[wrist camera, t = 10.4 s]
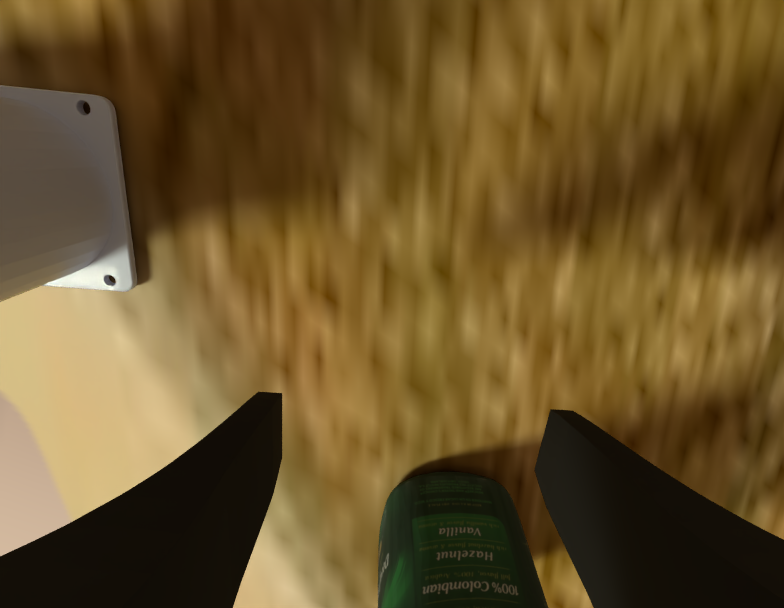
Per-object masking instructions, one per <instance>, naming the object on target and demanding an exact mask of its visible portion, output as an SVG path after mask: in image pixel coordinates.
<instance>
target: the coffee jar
mask: <svg viewBox="0 0 784 608" xmlns="http://www.w3.org/2000/svg"><path fill="white" fill-rule="evenodd" d="M378 608H548V605H547V603H546V599H545V596H544V593H543V590H542V587H541V584H540V581H539V578H538V575H537V571H536V568H535V565H534V562H533V559H532V556H531V553H530V550H529V546H528V543H527V540H526V537H525V534H524V531H523V528H522V525H521V522H520V519H519V517H518V514H517V511H516V508H515V506H514V503H513V500H512V498H511V496H510V494H509V493H508V492H507V490H506V489H505V488H504V487H503V486H502V485H500V484H499V483H497V482H496V481H494V480H492V479H489V478H486V477H482V476H478V475H474V474H470V473H460V472H433V473H429V474H423V475H419V476H415V477H412V478H410V479H408V480H406V481H404V482H402V483H400V484H399V485H398V486H397V487H396V488H394V490H393V491H392V492H391V494H390V495H389V497H388V499H387V502H386V505H385V509H384V512H383V516H382V521H381V526H380V534H379V557H378Z"/></svg>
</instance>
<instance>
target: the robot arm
mask: <svg viewBox="0 0 784 608" xmlns="http://www.w3.org/2000/svg"><path fill="white" fill-rule="evenodd" d="M85 102H87V103H88V104H89V106H90V108H91V109H90V113H89V114H88V115H87V114H86V113H85V112H84V109H83V104H84V103H85ZM109 275H111V276H113V277H114V278H115V280H116V283H113V282H112V281H110V279H109ZM136 285H137V274H136V266H135V258H134V250H133V243H132V235H131V227H130V219H129V212H128V204H127V196H126V188H125V180H124V173H123V165H122V157H121V149H120V142H119V134H118V126H117V118H116V111H115V108H114V105H113V104H112V102H111V101H110V100H108V99H107V98H106V97H102V96H98V95H92V94H82V93H72V92H62V91H53V90H43V89H33V88H24V87H14V86H4V85H0V302H1V301H4V300H6V299H9V298H11V297H14V296H16V295H19V294H22V293H24V292H27V291H29V290H32V289H34V288H37V287H39V286H54V287H67V288H81V289H94V290H108V291H121V292H125V291H129V290H131V289H133V288H134V287H135V286H136ZM281 460H282V393H269V392H258V393H256V394H255V395H254V396H253V397H252V398H250V399H249V400H248V401H247V402H246V403H245V404H243V405H242V406H241V407H240V408H239V409H238V410H237V411H235V412H234V413H233V414H232V415H231V416H230V417H228V418H227V419H226V420H225V421H224V422H223V423H221V424H220V425H219V426H218V427H217V428H215V429H214V430H213V431H212V432H210V433H209V434H208V435H207V436H206V437H204V438H203V439H202V440H201V441H199V442H198V443H197V444H195V445H194V446H193V447H191V448H190V449H189V450H187V451H186V452H185V453H183V454H182V455H181V456H179V457H178V458H177V459H175V460H174V461H173V462H171V463H170V464H168V465H167V466H166V467H164V468H163V469H161V470H160V471H158V472H157V473H155V474H154V475H152V476H151V477H149V478H147V479H146V480H144V481H143V482H141V483H139V484H138V485H136V486H135V487H133V488H132V489H130V490H128V491H127V492H125V493H123V494H122V495H120V496H118V497H116V498H115V499H113V500H111V501H109V502H107V503H105V504H104V505H102V506H100V507H98V508H96V509H95V510H93V511H91V512H89V513H87V514H85V515H84V516H82V517H80V518H78V519H76V520H75V521H73V522H71V523H69V524H67V525H65V526H64V527H61V528H59V529H57V530H55V531H53V532H51V533H49V534H47V535H45V536H43V537H41V538H39V539H37V540H35V541H33V542H31V543H28V544H27V545H24V546H22V547H20V548H18V549H15V550H14V551H11V552H9V553H7V554H5V555H3V556H0V608H233V605H234V602H235V599H236V596H237V593H238V590H239V587H240V584H241V581H242V578H243V575H244V573H245V570H246V567H247V565H248V562H249V559H250V556H251V554H252V551H253V548H254V546H255V543H256V540H257V537H258V535H259V532H260V529H261V527H262V524H263V521H264V518H265V516H266V513H267V510H268V507H269V505H270V502H271V499H272V496H273V493H274V489H275V485H276V481H277V477H278V473H279V468H280V464H281ZM535 473H536V476H537V479H538V483H539V486H540V489H541V492H542V495H543V498H544V501H545V504H546V507H547V509H548V511H549V513H550V516H551V518H552V520H553V522H554V524H555V526H556V528H557V531H558V533H559V535H560V537H561V539H562V541H563V543H564V545H565V547H566V549H567V552H568V554H569V556H570V558H571V560H572V562H573V564H574V566H575V568H576V570H577V572H578V575H579V577H580V579H581V581H582V583H583V585H584V587H585V589H586V591H587V593H588V596H589V598H590V600H591V603H592V605H593V607H594V608H784V540H783V539H781V538H779V537H777V536H775V535H773V534H771V533H769V532H767V531H765V530H763V529H761V528H759V527H757V526H755V525H754V524H752V523H750V522H748V521H746V520H744V519H742V518H741V517H739V516H737V515H735V514H733V513H732V512H730V511H728V510H726V509H724V508H723V507H721V506H719V505H717V504H716V503H714V502H712V501H710V500H709V499H707V498H705V497H704V496H702V495H700V494H698V493H697V492H695V491H693V490H692V489H690V488H689V487H687V486H686V485H684V484H682V483H681V482H679V481H678V480H676V479H674V478H673V477H671V476H670V475H668V474H666V473H665V472H663V471H662V470H660V469H659V468H657V467H656V466H654V465H653V464H651V463H650V462H648V461H647V460H645V459H644V458H642V457H641V456H639V455H638V454H637V453H635V452H634V451H632V450H631V449H629V448H628V447H626V446H625V445H624V444H622V443H621V442H619V441H618V440H616V439H615V438H613V437H612V436H611V435H609V434H608V433H606V432H605V431H603V430H602V429H600V428H599V427H597V426H596V425H595V424H593V423H592V422H590V421H589V420H587V419H585V418H584V417H582V416H581V415H579V414H577V413H576V412H574V411H569V410H552V409H551V410H550V413H549V417H548V421H547V425H546V428H545V432H544V436H543V440H542V443H541V447H540V451H539V455H538V458H537V462H536V466H535Z"/></svg>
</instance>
